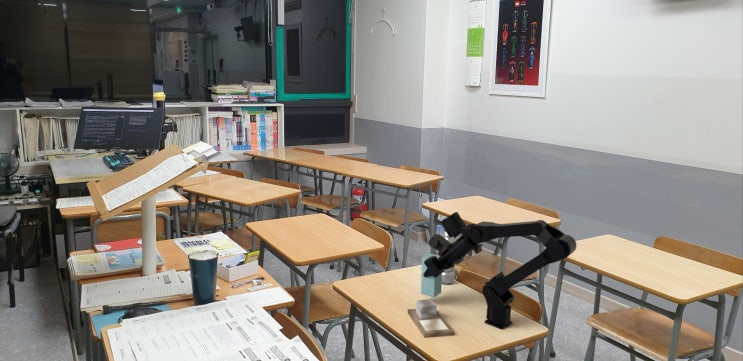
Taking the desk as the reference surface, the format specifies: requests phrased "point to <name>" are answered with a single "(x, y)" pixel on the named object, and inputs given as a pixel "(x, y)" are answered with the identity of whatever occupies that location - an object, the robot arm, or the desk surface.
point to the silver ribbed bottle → (449, 274)
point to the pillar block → (430, 280)
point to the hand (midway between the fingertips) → (428, 273)
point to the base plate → (429, 319)
